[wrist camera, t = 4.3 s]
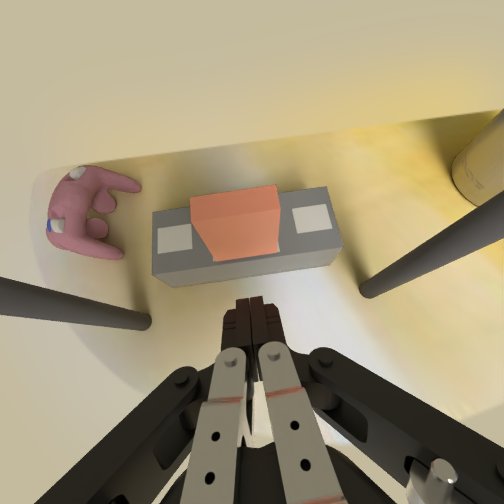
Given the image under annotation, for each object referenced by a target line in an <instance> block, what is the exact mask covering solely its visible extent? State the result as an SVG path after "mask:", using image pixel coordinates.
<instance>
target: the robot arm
mask: <svg viewBox="0 0 504 504" xmlns="http://www.w3.org/2000/svg"><path fill="white" fill-rule="evenodd" d="M452 177H453V180H454V183H455V185H456V186H457V188H458V189H459V191H460V192H461V193H462V194H463V195H464V196H465V197H466V198H467V199H468V200H469V201H471V202H472V203H473V204H475V205H477V206H480V205H482V204H483V203H485V202H486V201H488V200H489V199H491V198H493V197H494V196H496V195H497V194H499V193H500V192H502V191H503V190H504V109H503V110H502V111H501V112H500V113H499V114H498V115H497V116H496V117H495V118H494V119H493V120H492V121H491V122H490V123H489V124H488V125H487V126H486V127H485V128H484V129H483V130H482V131H481V132H480V133H479V134H478V135H477V136H476V137H475V138H474V139H473V140H472V141H471V142H470V143H469V144H468V145H467V146H466V147H465V148H464V149H463V150H462V151H461V152H460V153H459V154H458V155H457V156H456V158H455V160H454V161H453V164H452ZM257 368H258V370H257ZM258 374H259V379H260V381H263V384H264V390H265V396H266V401H267V407H268V412H269V417H270V423H271V428H272V433H273V438H274V442H272V443H270V444H268V445H266V446H264V447H261V448H254V382H258ZM312 408H313V409H312ZM313 410H314V411H315V413H316V414H318V415H319V416H320V417H321V418H322V419H323V420H325V421H326V422H327V423H328V424H329V425H331V426H332V427H333V428H334V429H335V430H337V431H338V432H339V433H340V434H341V435H343V436H344V437H345V438H346V439H347V440H349V441H350V442H351V443H352V444H353V445H355V446H356V447H357V448H358V449H359V450H361V451H362V452H363V453H364V454H365V455H367V456H368V457H369V458H370V459H371V460H373V461H374V462H375V463H376V464H377V465H378V466H380V467H381V468H382V469H383V470H384V471H386V472H387V473H388V474H389V475H390V476H392V477H393V478H394V479H395V480H396V481H398V482H399V483H400V484H401V485H402V486H404V487H405V488H406V495H407V500H408V502H409V504H504V448H503V447H501V446H499V445H497V444H496V443H494V442H492V441H490V440H489V439H487V438H485V437H483V436H482V435H480V434H478V433H477V432H475V431H473V430H471V429H470V428H468V427H466V426H465V425H463V424H461V423H459V422H458V421H456V420H454V419H453V418H451V417H449V416H447V415H446V414H444V413H442V412H440V411H439V410H437V409H435V408H434V407H432V406H430V405H428V404H427V403H425V402H423V401H421V400H420V399H418V398H416V397H415V396H413V395H411V394H409V393H408V392H406V391H404V390H402V389H401V388H399V387H397V386H396V385H394V384H392V383H390V382H389V381H387V380H385V379H383V378H382V377H380V376H378V375H377V374H375V373H373V372H371V371H370V370H368V369H366V368H365V367H363V366H361V365H359V364H358V363H356V362H354V361H352V360H351V359H349V358H347V357H346V356H344V355H342V354H340V353H339V352H337V351H335V350H333V349H331V348H327V347H320V348H317V349H314V350H313V351H312V352H311V353H310V354H309V355H307V354H300V353H297V352H295V351H293V350H291V349H290V348H289V347H288V345H287V344H286V340H285V336H284V332H283V327H282V323H281V319H280V315H279V311H278V308H277V307H276V306H275V305H274V304H273V303H272V304H265V305H264V304H263V297H262V296H258V297H251V298H250V301H249V298H244V299H238V300H236V309H232V310H228V311H227V312H226V314H225V315H224V319H223V331H222V343H221V352H220V353H219V354H218V356H217V357H216V360H215V363H214V364H212V365H211V366H209V367H207V368H205V369H203V370H200V371H198V372H197V370H196V369H195V368H193V367H190V366H185V367H181V368H179V369H177V370H175V371H174V372H173V373H171V374H170V375H169V376H168V377H167V378H166V379H165V380H164V381H163V382H162V383H161V384H160V385H159V386H158V387H157V388H156V389H155V390H153V391H152V392H151V393H150V394H149V395H148V396H147V397H146V398H145V399H144V400H143V401H142V402H141V403H140V404H139V405H138V406H137V407H136V408H134V409H133V410H132V411H131V412H130V413H129V414H128V415H127V416H126V417H125V418H124V419H123V420H122V421H121V422H120V423H119V424H118V425H117V426H116V427H114V428H113V429H112V430H111V431H110V432H109V433H108V434H107V435H106V436H105V437H104V438H103V439H102V440H101V441H100V442H99V443H98V444H97V445H96V446H95V447H93V448H92V449H91V450H90V451H89V452H88V453H87V454H86V455H85V456H84V457H83V458H82V459H81V460H80V461H79V462H78V463H76V465H74V466H73V467H72V468H71V469H70V470H69V471H68V472H67V473H66V474H65V475H64V476H63V477H62V478H61V479H60V480H59V481H58V482H56V484H54V486H52V487H51V488H50V489H49V490H48V491H47V492H46V493H45V494H44V495H43V496H42V497H41V498H40V499H39V500H37V501H36V502H35V503H34V504H151V503H152V502H153V501H154V499H155V498H156V497H157V495H158V494H159V493H160V491H161V490H162V489H163V487H164V486H165V485H166V484H167V482H168V481H169V480H170V478H171V477H172V476H173V474H174V473H175V472H176V470H177V469H178V468H179V466H180V465H181V464H182V462H183V461H184V460H185V459H186V457H187V456H188V454H189V453H190V452H191V454H190V459H189V464H188V468H187V469H186V470H185V471H184V472H183V473H182V474H181V475H180V476H179V477H178V479H177V480H176V481H175V482H174V484H173V485H172V486H171V488H170V489H169V491H168V492H167V494H166V495H165V496H164V498H163V499H162V501H161V502H160V503H159V504H397V503H395V501H393V500H392V499H391V498H390V497H389V496H388V495H387V494H386V493H385V492H384V491H383V490H382V489H381V488H380V487H379V486H378V485H377V484H375V483H374V482H373V481H372V480H371V479H370V478H369V477H368V476H367V475H366V474H365V473H364V472H363V471H362V470H361V469H359V468H358V467H357V466H356V465H355V464H354V463H353V462H352V461H351V460H350V459H349V458H348V457H347V456H345V455H344V454H342V453H341V452H340V451H338V450H336V449H334V448H332V447H330V446H328V445H325V443H324V440H323V437H322V434H321V432H320V429H319V426H318V423H317V420H316V418H315V415H314V412H313Z"/></svg>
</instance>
